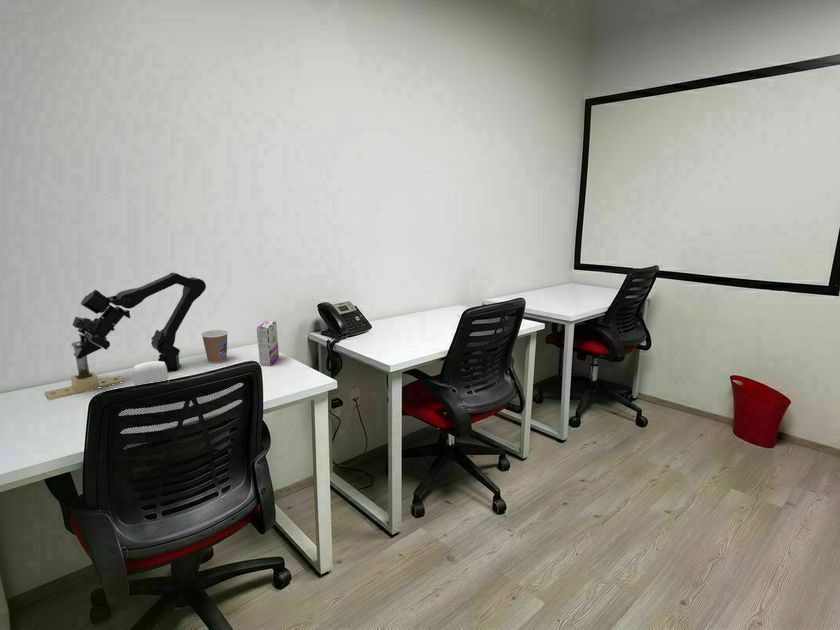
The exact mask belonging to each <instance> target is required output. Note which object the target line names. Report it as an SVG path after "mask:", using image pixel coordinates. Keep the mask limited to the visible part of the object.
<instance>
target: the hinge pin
mask: <svg viewBox="0 0 840 630" xmlns="http://www.w3.org/2000/svg"><path fill="white" fill-rule="evenodd" d="M84 345H85V341H74V342H72V343H71V347H73V350H74V353H75V356H74V357H75V361H76V368H77V372H78V373H77V375H87V374H89V372H90V367H89V363H88V355H87V356H85V357H83V358H81V359H78V358H77V355H78V354H79V352H80V351H81V349H82V348H83V346H84Z"/></svg>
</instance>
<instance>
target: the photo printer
mask: <svg viewBox="0 0 840 630" xmlns="http://www.w3.org/2000/svg"><path fill="white" fill-rule="evenodd" d="M132 374H133V376H132V377H133V385H139V384H145V383H150V382H157V381H163V380H167V379H168V380H169V375H168V371H167V367H166V365H165V362H162V361H158V360H151V361H145V362H141V363H138V364H136V365H134V366H133V370H132Z"/></svg>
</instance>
